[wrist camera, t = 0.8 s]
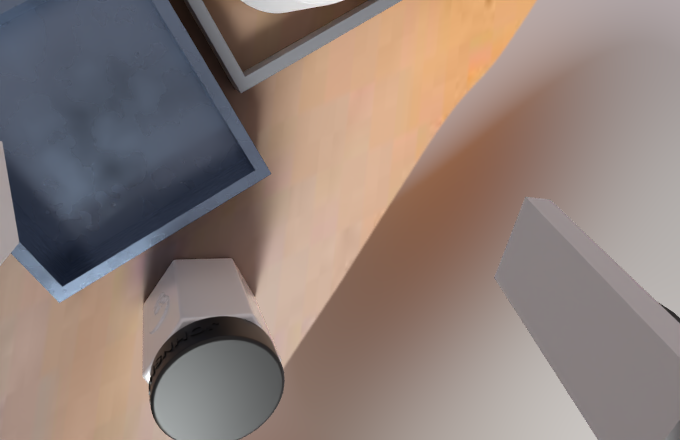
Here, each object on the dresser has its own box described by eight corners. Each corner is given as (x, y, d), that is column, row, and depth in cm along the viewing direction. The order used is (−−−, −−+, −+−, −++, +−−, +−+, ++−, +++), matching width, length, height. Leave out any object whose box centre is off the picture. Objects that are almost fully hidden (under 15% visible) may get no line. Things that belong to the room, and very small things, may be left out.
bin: (69, 270, 36) (59, 302, 32) (-116, 69, 29) (-162, 76, 25) (256, 157, 38) (271, 173, 34) (128, -57, 31) (126, -71, 27)
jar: (186, 234, 38) (202, 309, 28) (271, 277, 42) (313, 359, 32) (125, 326, 39) (117, 433, 29) (213, 360, 43) (235, 466, 33)
